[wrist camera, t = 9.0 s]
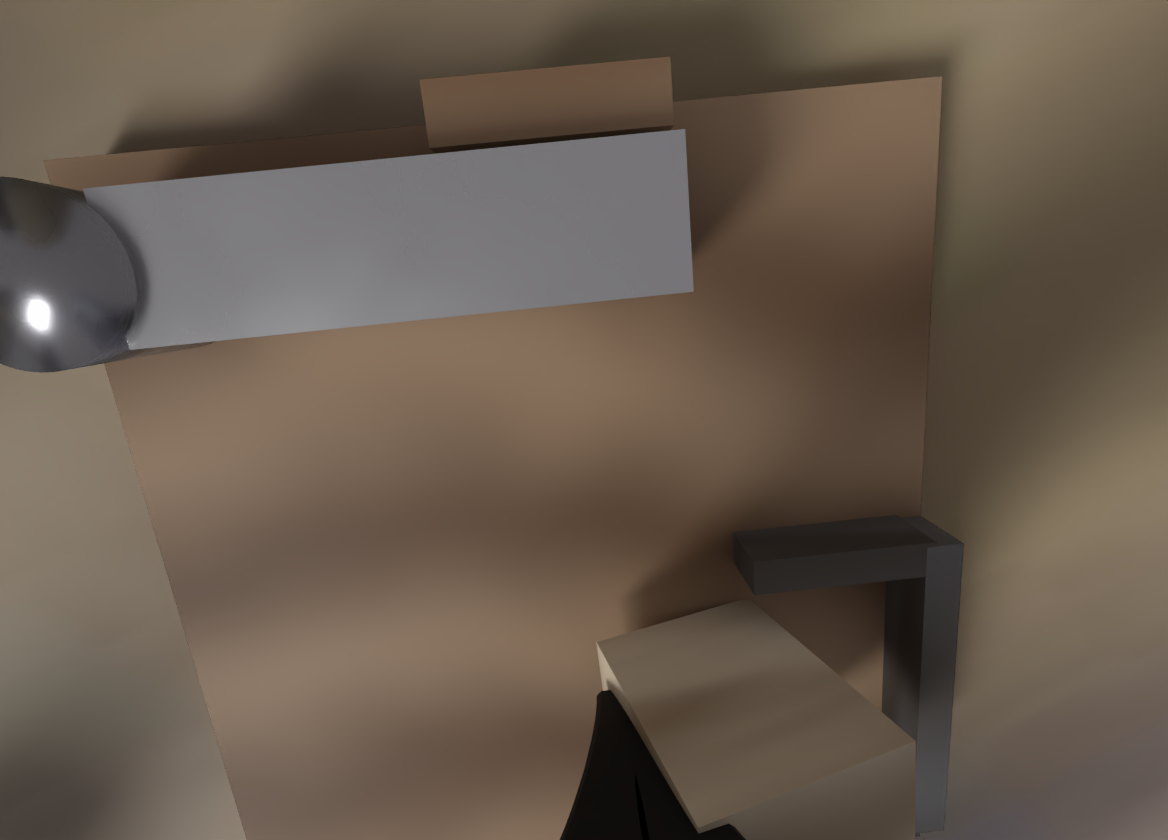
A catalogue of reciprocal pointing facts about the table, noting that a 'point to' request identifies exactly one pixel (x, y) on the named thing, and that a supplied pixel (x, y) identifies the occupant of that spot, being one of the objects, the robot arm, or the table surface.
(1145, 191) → the table surface
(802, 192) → the plate
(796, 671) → the leg stub
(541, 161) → the hinged leg
